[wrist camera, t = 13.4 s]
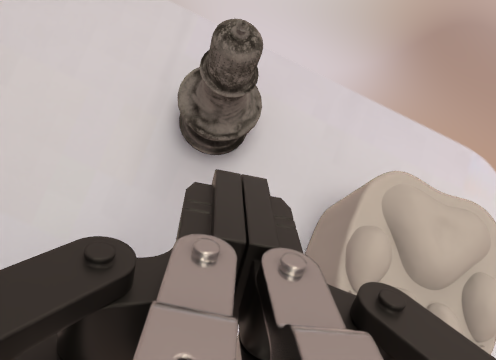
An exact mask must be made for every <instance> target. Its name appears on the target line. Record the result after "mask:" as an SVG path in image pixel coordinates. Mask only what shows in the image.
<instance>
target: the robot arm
mask: <svg viewBox="0 0 496 360" xmlns="http://www.w3.org/2000/svg"><path fill="white" fill-rule="evenodd" d="M238 324H239V334H238V338H237V332H238ZM0 360H496V359H495V358H494V357H493V356H491V355H490V354H488V353H487V352H486V351H484V350H483V349H482V348H480V347H479V346H477V345H476V344H475V343H473V342H472V341H470V340H469V339H468V338H466V337H465V336H464V335H462V334H461V333H459V332H458V331H457V330H455V329H454V328H452V327H451V326H450V325H448V324H447V323H445V322H444V321H443V320H441V319H440V318H439V317H437V316H436V315H434V314H433V313H432V312H430V311H429V310H427V309H426V308H425V307H423V306H422V305H421V304H419V303H418V302H416V301H415V300H414V299H412V298H411V297H409V296H408V295H407V294H405V293H404V292H402V291H401V290H399V289H397V288H395V287H393V286H390V285H387V284H384V283H379V282H368V283H365V284H363V285H362V286H361V287H360V288H359V290H358V292H357V295H354V294H352V293H349V292H346V291H344V290H341V289H339V288H336V287H334V286H331V285H329V284H327V282H326V280H325V278H324V275H323V273H322V271H321V269H320V267H319V266H318V264H317V263H316V262H315V261H314V260H313V259H311V258H310V257H309V256H307V255H305V254H303V251H302V247H301V244H300V240H299V236H298V233H297V230H296V226H295V222H294V221H293V215H292V212H291V208H290V207H289V206H288V205H287V204H286V203H285V202H284V201H283V200H282V199H281V198H277V197H272V196H270V192H269V187H268V183H267V179H264V178H259V177H254V176H248V175H243V174H242V175H241V174H238V173H233V172H227V171H222V170H217V169H216V170H215V173H214V177H213V181H212V185H208V184H202V183H197V182H194V183H193V184H192V185H191V186H190V187H188V188H187V189H186V192H185V197H184V202H183V208H182V213H181V218H180V223H179V228H178V233H177V238H176V242H175V244H174V246H173V248H172V249H171V250H170V251H168V252H166V253H164V254H162V255H159V256H154V257H146V258H136V254H135V252H134V251H133V249H132V248H131V247H130V246H129V245H127V244H126V243H124V242H122V241H120V240H117V239H114V238H109V237H101V236H94V237H87V238H82V239H79V240H76V241H73V242H71V243H68V244H66V245H63V246H61V247H58V248H56V249H53V250H50V251H48V252H45V253H43V254H40V255H38V256H35V257H32V258H30V259H27V260H25V261H22V262H20V263H17V264H15V265H12V266H9V267H7V268H4V269H2V270H0Z"/></svg>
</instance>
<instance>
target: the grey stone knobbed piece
mask: <svg viewBox="0 0 496 360" xmlns="http://www.w3.org/2000/svg"><path fill="white" fill-rule="evenodd" d="M262 50H263V40H262V37H261V35H260V33H259V32H258V30H257V29H256V28H255V27H254V26H253V25H252V24H250V23H249V22H247V21H245V20H241V19H230V20H226V21H224V22H222V23H221V24H219V25H218V26H217V28H216V29H215V31H214V33H213V36H212V40H211V45H210V50H209V51H207V52H206V53H205V54H204V56H203V57H202V59H201V63H200V67H199V68H197V69H194V70H193V71H192V72H190V73H189V74H188V75H187V76H186V77H185V78H184V80H183V82H182V83H181V85H180V88H179V92H178V107H179V110H180V113H181V114H180V118H179V119H180V129H181V132H182V135H183V136H184V138H185V139H186V141H187V142H188V143H189V144H190V145H191V146H192V147H194V148H195V149H197V150H199V151H201V152H203V153H207V154H211V155H221V154H225V153H229V152H231V151H232V150H234V149H236V148H237V147H238V146H239V145H240V144H241V143H242V142H243V140H244V138H245V136H246V134H247V133H248V132H249V131H250V130H251V129H252V128H253V127H254V126H255V125H256V123H257V121H258V119H259V117H260V114H261V109H262V103H261V96H260V93H259V91H258V88H257V86H256V83H257V80H258V68H257V64H258V62H259V59H260V57H261V54H262Z"/></svg>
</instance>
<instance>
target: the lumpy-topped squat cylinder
mask: <svg viewBox="0 0 496 360" xmlns="http://www.w3.org/2000/svg"><path fill="white" fill-rule="evenodd" d="M305 255H307V256H309V257H310V258H311V259H313V260H314V261H315V262H316V263H317V264H318V266H319V267H320V269H321V271H322V273H323V275H324V278H325V280H326V282H327V284H329V285H331V286H334V287H336V288H339V289H341V290H344V291H346V292H349V293H352V294H354V295H357V292H358V290H359V288H360V287H361V286H362V285H363V284H365V283H368V282H379V283H384V284H387V285H390V286H393V287H395V288H397V289H399V290H401V291H402V292H404V293H405V294H407V295H408V296H409V297H411V298H412V299H414V300H415V301H416V302H418V303H419V304H421V305H422V306H423V307H425V308H426V309H427V310H429V311H430V312H432V313H433V314H434V315H436V316H437V317H439V318H440V319H441V320H443V321H444V322H445V323H447V324H448V325H450V326H451V327H452V328H454V329H455V330H457V331H458V332H459V333H461V334H462V335H464V336H465V337H466V338H468V339H469V340H470V341H472V342H473V343H475V344H476V345H477V346H479V347H480V348H482V349H483V350H484V351H486V352H487V353H488V354H490V355H491V353H492V351H493V348H494V344H495V341H496V222H495V221H494V220H493V218H492V217H491V215H490V214H489V213H488V212H487V211H486V210H485V209H484V208H482V207H481V206H479V205H478V204H476V203H474V202H472V201H469V200H466V199H462V198H458V197H454V196H451V195H448V194H445V193H442V192H440V191H438V190H436V189H434V188H433V187H431V186H430V185H428V184H426V183H425V182H423V181H422V180H420V179H419V178H417V177H415V176H413V175H411V174H408V173H405V172H401V171H392V172H388V173H384V174H382V175H380V176H378V177H376V178H374V179H372V180H371V181H369V182H368V183H366V184H365V185H363V186H362V187H360V188H359V189H357V190H355V191H354V192H352V193H351V194H349V195H348V196H346V197H345V198H343V199H342V200H340V201H338V202H337V203H335V204H334V205H332V206H331V207H330V208H328V209H327V210H326V211H325V212H324V214H323V215H322V216H321V218H320V220H319V221H318V223H317V226H316V228H315V230H314V233H313V235H312V237H311V240H310V242H309V245H308V247H307V250H306V253H305Z"/></svg>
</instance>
